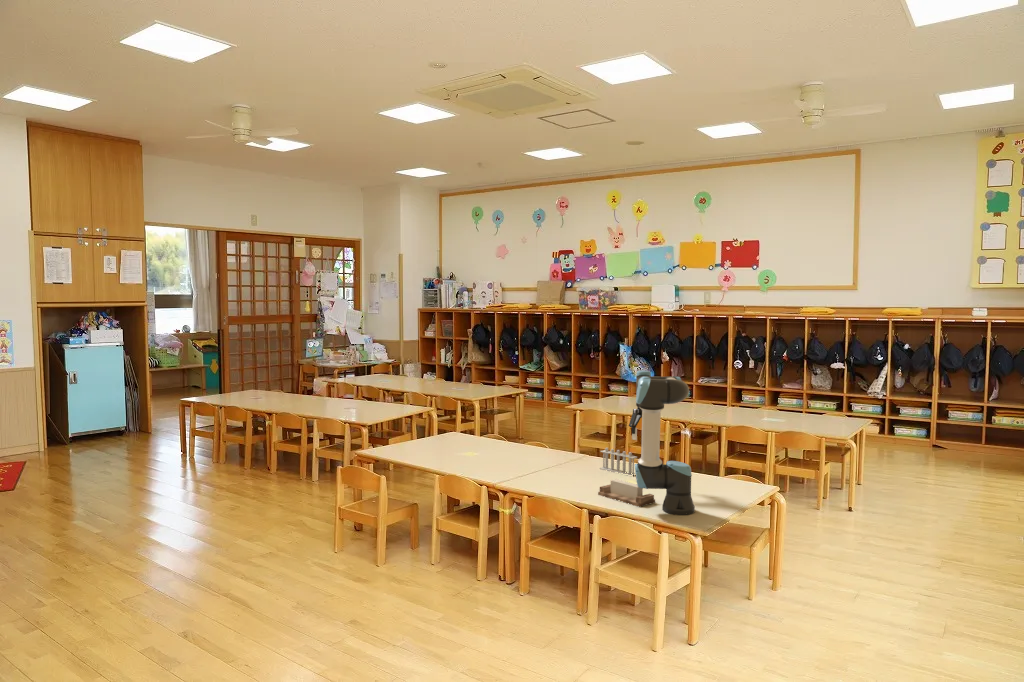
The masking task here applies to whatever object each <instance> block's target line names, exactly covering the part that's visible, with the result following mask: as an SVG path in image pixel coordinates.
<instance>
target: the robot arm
mask: <svg viewBox="0 0 1024 682" xmlns="http://www.w3.org/2000/svg"><path fill="white" fill-rule="evenodd" d="M651 374H652V373H651V371H650V370H644V369H643V370H642V369H641V370H637V371H636V375H635V377H636V382H635V383H636V386H635V387H636V390H635V391H636V394H635V395H636V397H635V406H636V407H637V408H633V409H632V414H631V417H630V420H629V424H628V427H629V428H631V439H632V440H634V441H638V436H637V435H638V428H637V426H638V424H639V423H640V420H641V448H640V449H641V452H640V453H641V454H640V458H638V459H637V463H634V474H636V476H635V480H636V484H637V486H638V487H639V488H643V489H646V490H649V489H650V490H651V489H652V490H654V489H655V490H657V489H658V490H666V493H665V497H664V500H663V503H662V504H661V505H662V510H661V511H663V512H664V513H667V514H670V515H675V514H678V515H677V516H688V515H692V514H695V512H696V511H695V510H696V509H695V505H694V501H693V498H692V476H693V473H692V467H691V466H690V465H689V464H688V463H685V462H682V461H677V460H668V461H666V464H663V460H662V459H661V458H660V450H661V449H660V448H661V447H660V446H661V443H660V442H661V416H662V415H661V414H662V413H661V412H662V411H663V410H664V409H665V405H674V404H678V403H680V402H683V401H684V400H685V399H686V398H688V396H689V394H690V388H689V385H688V384H687V383H686V382H685V381H684V380H682V378H681V377H680V376H675V375H674V376H658V375H657V376H654V375H653V376H652V375H651ZM687 514H688V515H687Z"/></svg>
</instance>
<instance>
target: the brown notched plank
mask: <svg viewBox="0 0 1024 682" xmlns="http://www.w3.org/2000/svg"><path fill="white" fill-rule="evenodd" d="M597 495H598V496H600V497H601V496H602V497H604V496H605V498H608V499H611V498H612V499H611V500H614V499H616V500H615V501H618V500H620V501H619V502H621V501H623V502H622V503H624V502H626V503H625V504H628V503H629V504H628V505H631V504H632V506H636V507H638V506H639V508H641V507H643V505H644V506H647V505H646V504H648V505H651V504H650V503H652V504H654V503H653V502H655V503H656V499H655V494H653V493H652V494H651V493H647V494H643V495H642V496H639V497H636V500H635V499H631V498H628V497H624V496H621V495H617V494H613V493H611V483H610V484H607V485H602V486H599V491H598V493H597ZM640 506H641V507H640Z"/></svg>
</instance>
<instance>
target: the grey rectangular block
mask: <svg viewBox="0 0 1024 682" xmlns="http://www.w3.org/2000/svg"><path fill="white" fill-rule="evenodd" d="M610 484H611V493H613V494H617V495H621V496H624V497H628V498H631V499H635V500H636V497H639V496H642V495H644V494H643V492H644V488H639V487H638V486H637V483H632V482H628V481H626V480H625V481H624V480H622V479H621V480H620V479H617V478H614V479H611V480H610Z"/></svg>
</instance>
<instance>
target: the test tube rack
mask: <svg viewBox="0 0 1024 682" xmlns="http://www.w3.org/2000/svg"><path fill="white" fill-rule="evenodd" d="M620 451H621V450H620V449H616V452H615V449H614V448H611V449H610V450H609V447H605V448H604V450H599V452H600V453H602V454H603V455H602V459H603V460H602V463H603V464H602V467H599V470H602V471H606V470H607V472H610V471H611V473H615V472H618V473H617V474H619V473H623V474H628V475H632V474H633V475H634V474H635V459H637V458H638V456H635V455H633V453H632V452H630V451H629V452H628V454H627V452H626V451H624V450H623V451H622V453H620ZM609 455H610V467H609ZM615 456H616V468H615ZM621 457H622V470H621V468H620V467H621V462H620V461H621V460H620V459H621ZM626 458H627V459H628V471H626V470H627V469H626V468H627V467H626V463H627V462H626V461H627V460H626ZM625 472H626V473H625ZM627 472H629V473H627ZM631 473H632V474H631ZM623 474H622V475H623ZM628 475H627V476H628Z"/></svg>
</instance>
